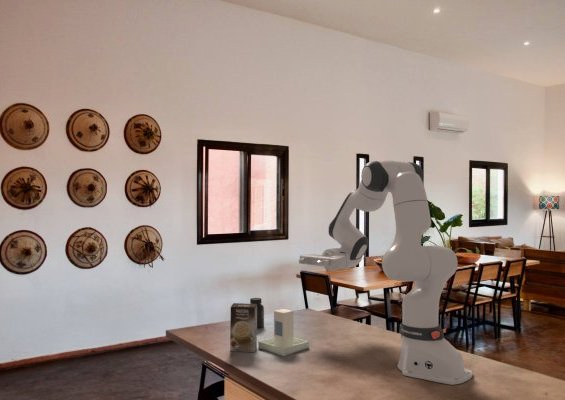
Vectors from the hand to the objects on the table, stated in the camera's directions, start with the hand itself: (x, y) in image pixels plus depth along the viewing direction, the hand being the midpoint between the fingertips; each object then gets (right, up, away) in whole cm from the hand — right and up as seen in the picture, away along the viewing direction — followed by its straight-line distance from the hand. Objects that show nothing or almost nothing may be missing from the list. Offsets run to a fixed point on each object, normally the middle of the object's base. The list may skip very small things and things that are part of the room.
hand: (309, 262), depth 187 cm
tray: (-10, -30, -10) cm, 33 cm away
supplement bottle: (-22, -30, +21) cm, 43 cm away
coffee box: (-24, -30, -11) cm, 40 cm away
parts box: (-10, -29, -10) cm, 33 cm away
